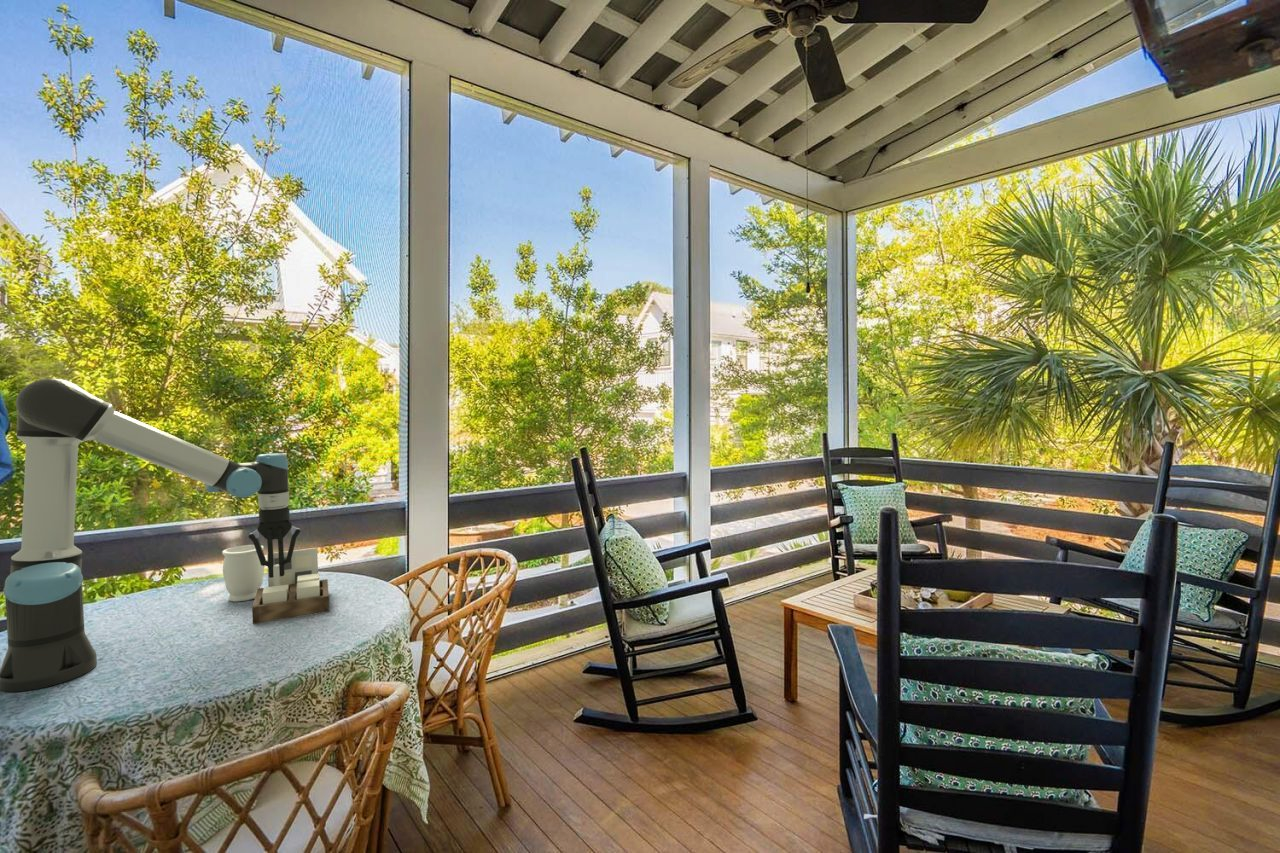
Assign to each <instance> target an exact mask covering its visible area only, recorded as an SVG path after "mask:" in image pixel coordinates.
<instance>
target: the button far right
mask: <svg viewBox="0 0 1280 853" xmlns="http://www.w3.org/2000/svg"><path fill="white" fill-rule="evenodd" d="M317 580H320V572H318V573H316V574H308V575H301V576H298V578H297V583H302V582H309V581H317ZM319 586H320V585H319Z"/></svg>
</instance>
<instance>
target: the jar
mask: <svg viewBox="0 0 1280 853" xmlns="http://www.w3.org/2000/svg"><path fill="white" fill-rule="evenodd" d="M261 547H262V550H263V551H264V549H265V548H264V545H262V544H261ZM222 555H223V556H224V558H223V562H222V575H223V579H224V584H225V588H226V591H227V592H228V593H229V596H228V597H227V600H228V601H229V602H245V601H251V600H253V599H254V600H255V597H256V593H257V590H258V589H260V588H262V584H263V581H264V575H265V574H264V573H265V566H262V565H261V564H260V561H259V558H258V555H257V552H256V549H255V546H254V544H246V545H237V546H232V547H228V548H225V549H224V550H222Z"/></svg>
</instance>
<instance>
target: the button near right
mask: <svg viewBox="0 0 1280 853" xmlns="http://www.w3.org/2000/svg"><path fill="white" fill-rule="evenodd" d="M319 580H320V579H319ZM319 580H317V581H309V582H302V583H297V599H303V598H310V597H317V596H320V586H319Z"/></svg>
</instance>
